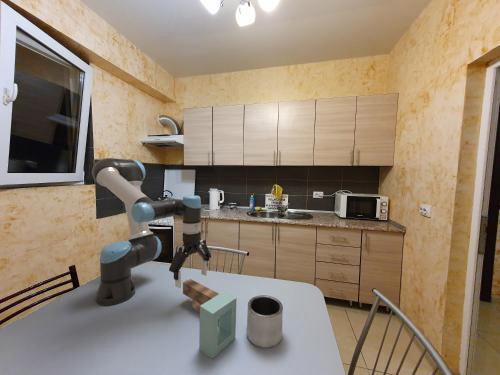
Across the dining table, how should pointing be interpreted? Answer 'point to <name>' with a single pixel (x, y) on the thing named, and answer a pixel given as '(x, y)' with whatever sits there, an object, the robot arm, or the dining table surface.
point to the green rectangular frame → (210, 333)
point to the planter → (264, 321)
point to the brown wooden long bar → (198, 291)
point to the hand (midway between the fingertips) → (191, 280)
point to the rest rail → (196, 305)
